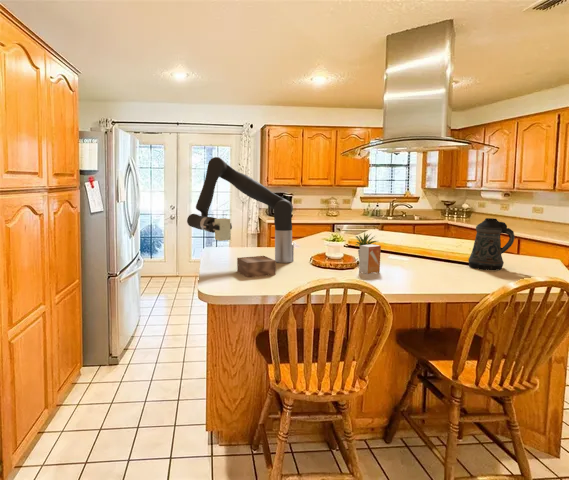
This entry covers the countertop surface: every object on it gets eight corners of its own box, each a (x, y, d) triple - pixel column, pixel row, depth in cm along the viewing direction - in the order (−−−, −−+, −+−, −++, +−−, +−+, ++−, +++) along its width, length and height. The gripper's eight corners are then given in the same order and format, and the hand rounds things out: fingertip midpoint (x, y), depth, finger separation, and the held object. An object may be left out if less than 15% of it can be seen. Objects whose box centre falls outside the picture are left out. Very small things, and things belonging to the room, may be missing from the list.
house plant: (361, 265, 234) (362, 234, 231) (344, 261, 246) (345, 231, 243) (382, 263, 241) (383, 232, 239) (365, 258, 253) (365, 229, 250)
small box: (367, 274, 214) (368, 247, 212) (358, 271, 219) (359, 245, 217) (380, 272, 218) (381, 245, 216) (370, 269, 223) (371, 243, 222)
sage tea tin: (225, 238, 222) (225, 218, 220) (230, 239, 217) (230, 219, 216) (215, 239, 219) (214, 218, 217) (220, 240, 214) (219, 219, 213)
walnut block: (264, 269, 225) (264, 255, 224) (275, 275, 212) (275, 260, 211) (237, 272, 219) (237, 257, 218) (247, 278, 206) (247, 262, 205)
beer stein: (462, 264, 239) (465, 217, 235) (499, 264, 239) (502, 217, 235) (476, 270, 222) (479, 220, 219) (515, 270, 222) (519, 220, 219)
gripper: (196, 217, 224) (210, 220, 211) (222, 216, 232) (238, 218, 219) (197, 232, 226) (211, 236, 212) (223, 230, 233) (238, 234, 220)
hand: (224, 227), depth 215 cm, fingers closed on sage tea tin, 5 cm apart
